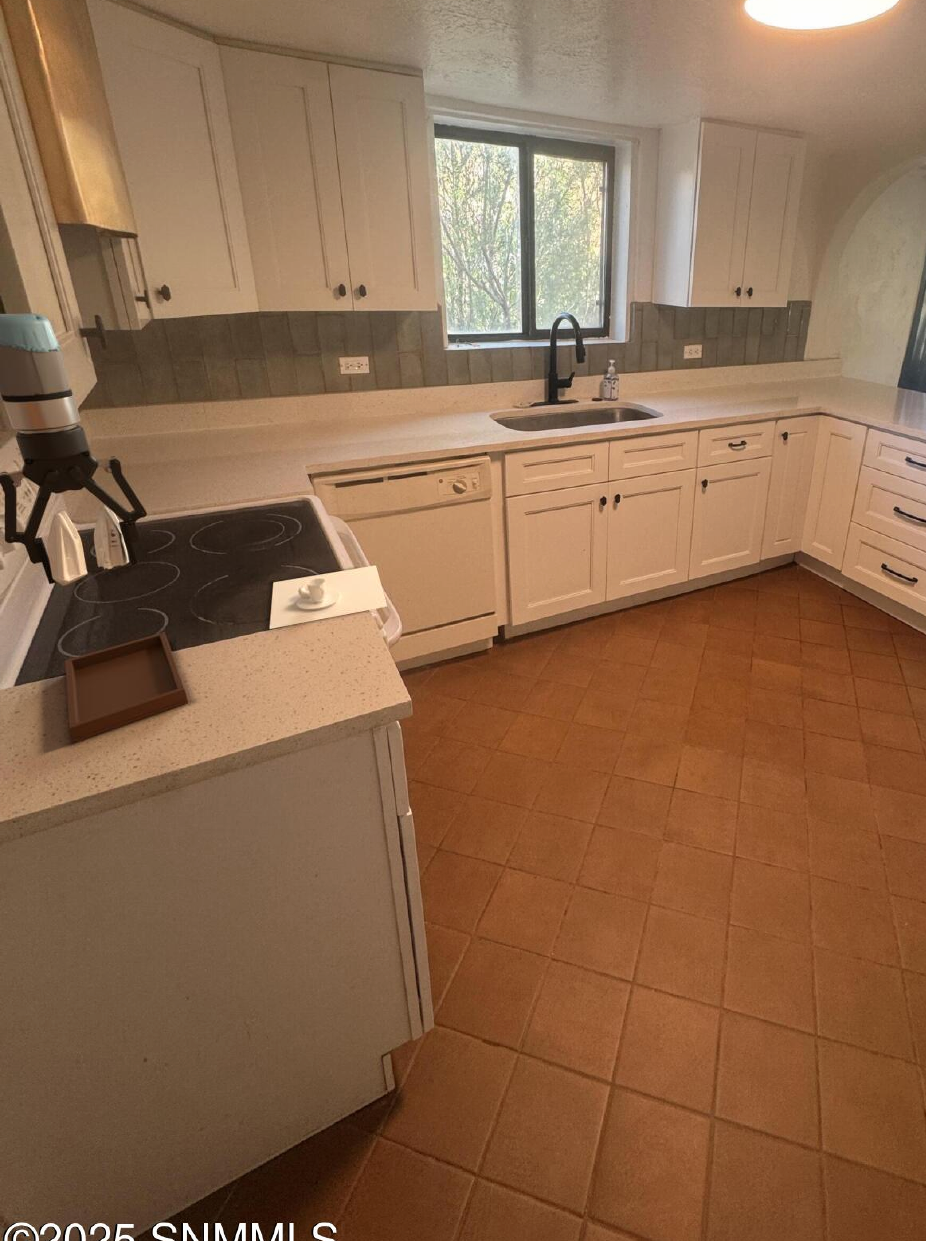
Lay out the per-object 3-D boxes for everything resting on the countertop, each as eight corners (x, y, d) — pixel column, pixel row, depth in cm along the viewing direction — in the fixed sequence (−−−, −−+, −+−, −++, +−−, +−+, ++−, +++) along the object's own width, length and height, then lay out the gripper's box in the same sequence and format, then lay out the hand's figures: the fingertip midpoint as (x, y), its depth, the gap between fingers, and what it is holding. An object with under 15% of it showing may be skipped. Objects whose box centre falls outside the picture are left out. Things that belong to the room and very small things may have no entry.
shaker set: (66, 593, 90) (42, 522, 86) (43, 591, 91) (18, 520, 87) (140, 560, 101) (121, 495, 97) (119, 557, 102) (99, 493, 98)
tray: (69, 673, 98) (64, 660, 97) (167, 644, 106) (164, 631, 105) (74, 742, 83) (69, 728, 82) (188, 702, 91) (184, 689, 90)
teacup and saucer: (296, 594, 122) (292, 575, 121) (339, 586, 125) (336, 568, 124) (296, 614, 115) (292, 595, 113) (342, 606, 118) (339, 586, 116)
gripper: (138, 413, 98) (173, 545, 106) (-58, 435, 84) (-1, 583, 92) (145, 421, 92) (181, 558, 100) (-63, 445, 79) (-3, 602, 87)
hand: (94, 570), depth 96 cm, fingers closed on shaker set, 9 cm apart
